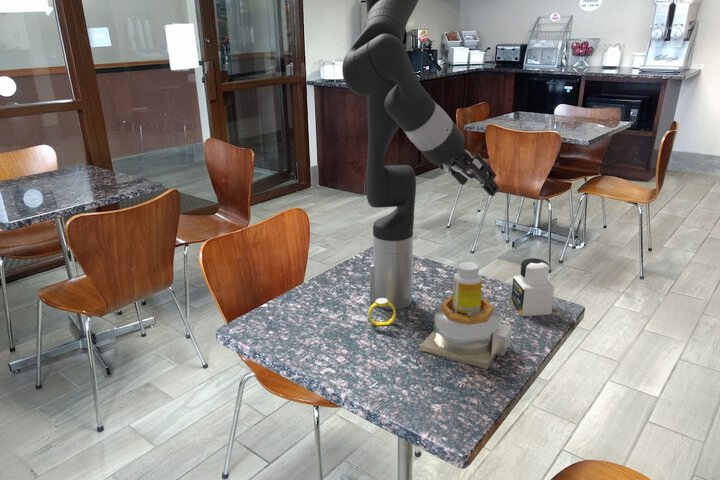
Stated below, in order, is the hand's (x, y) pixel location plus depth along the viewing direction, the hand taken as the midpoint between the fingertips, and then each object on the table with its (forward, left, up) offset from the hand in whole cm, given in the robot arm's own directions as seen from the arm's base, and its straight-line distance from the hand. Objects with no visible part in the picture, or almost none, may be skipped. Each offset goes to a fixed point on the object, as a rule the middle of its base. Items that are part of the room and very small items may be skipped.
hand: (479, 186), depth 105 cm
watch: (-19, -3, -33) cm, 39 cm away
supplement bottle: (0, -3, -26) cm, 26 cm away
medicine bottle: (+8, +20, -33) cm, 39 cm away
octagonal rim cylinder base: (0, -2, -33) cm, 33 cm away
